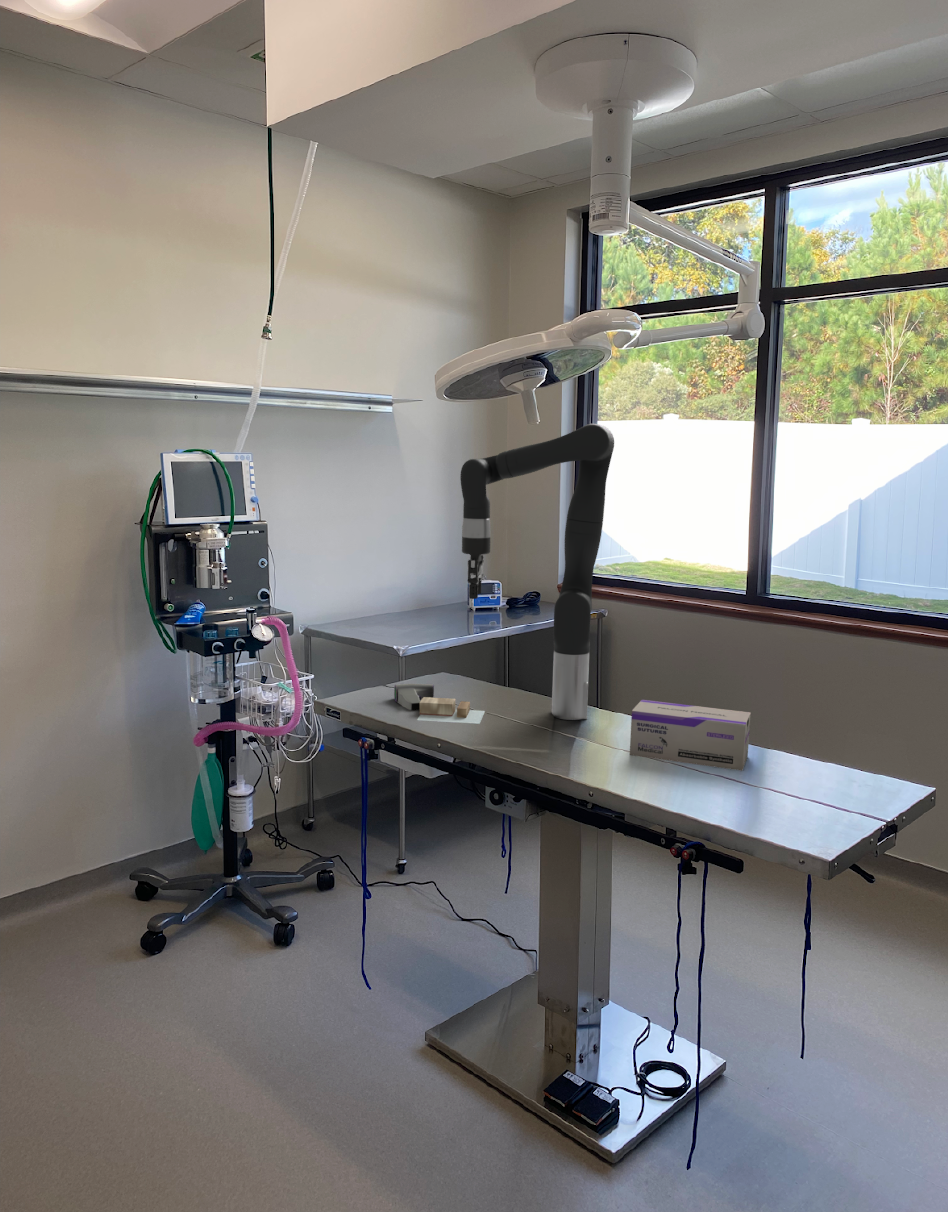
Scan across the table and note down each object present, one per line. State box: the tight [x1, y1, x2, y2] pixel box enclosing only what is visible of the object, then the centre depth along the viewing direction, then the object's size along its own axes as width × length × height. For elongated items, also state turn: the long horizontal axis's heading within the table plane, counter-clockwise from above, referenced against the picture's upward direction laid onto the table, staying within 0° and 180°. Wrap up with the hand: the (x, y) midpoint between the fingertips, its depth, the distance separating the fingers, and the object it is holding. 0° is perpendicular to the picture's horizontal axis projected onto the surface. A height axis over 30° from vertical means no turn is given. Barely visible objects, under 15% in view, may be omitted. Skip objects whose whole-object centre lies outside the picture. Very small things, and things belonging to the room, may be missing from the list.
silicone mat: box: [416, 708, 486, 725], centre depth 239 cm, size 16×12×1 cm
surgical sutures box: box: [629, 699, 752, 772], centre depth 212 cm, size 25×11×11 cm, turn 68°
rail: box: [456, 700, 471, 718], centre depth 241 cm, size 2×7×2 cm, turn 173°
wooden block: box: [419, 697, 456, 716], centre depth 241 cm, size 3×6×8 cm
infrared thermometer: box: [393, 683, 435, 711], centre depth 252 cm, size 5×12×15 cm
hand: (475, 596), depth 247 cm, fingers open, 8 cm apart
